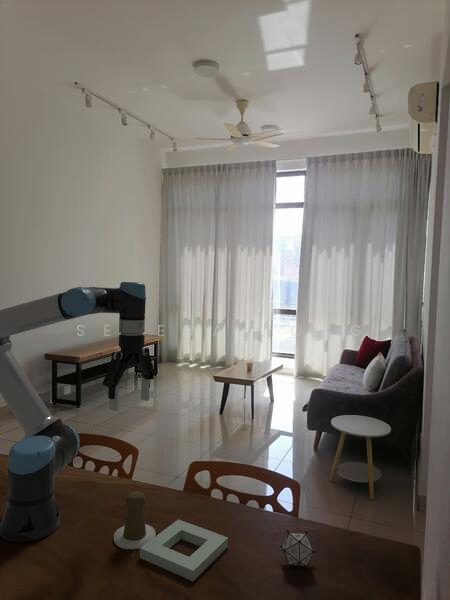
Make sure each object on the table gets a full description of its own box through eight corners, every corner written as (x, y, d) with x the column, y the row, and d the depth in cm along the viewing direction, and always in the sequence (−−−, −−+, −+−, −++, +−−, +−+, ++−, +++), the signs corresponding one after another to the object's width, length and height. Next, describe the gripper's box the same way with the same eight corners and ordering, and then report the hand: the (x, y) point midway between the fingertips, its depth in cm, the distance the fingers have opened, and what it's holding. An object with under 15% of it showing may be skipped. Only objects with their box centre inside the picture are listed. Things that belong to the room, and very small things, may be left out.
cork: (140, 542, 114) (142, 500, 114) (119, 538, 115) (120, 497, 115) (149, 529, 120) (150, 490, 120) (128, 526, 121) (129, 487, 121)
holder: (139, 557, 109) (140, 547, 109) (178, 528, 123) (178, 519, 123) (193, 581, 101) (193, 570, 101) (227, 546, 115) (228, 537, 115)
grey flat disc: (104, 540, 116) (104, 537, 116) (133, 522, 125) (133, 519, 125) (136, 554, 110) (136, 551, 110) (163, 534, 120) (163, 531, 120)
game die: (300, 584, 107) (305, 568, 100) (271, 560, 111) (274, 543, 104) (318, 553, 112) (324, 536, 106) (290, 532, 116) (294, 514, 110)
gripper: (110, 338, 118) (108, 416, 119) (167, 331, 140) (165, 398, 140) (90, 336, 122) (88, 411, 122) (149, 329, 143) (147, 394, 144)
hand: (129, 404), depth 131 cm, fingers open, 13 cm apart
